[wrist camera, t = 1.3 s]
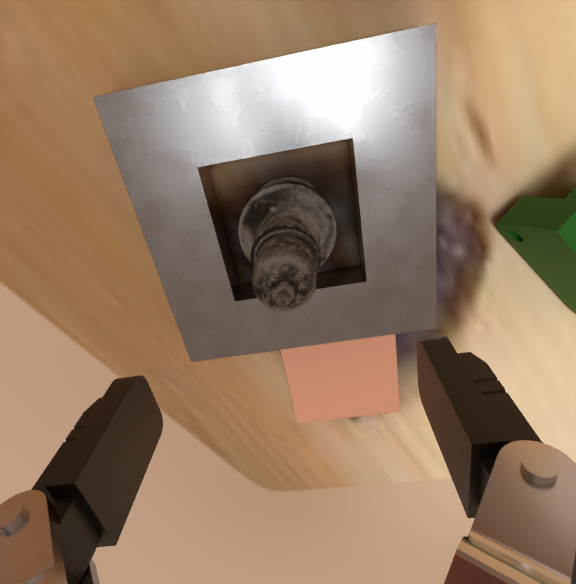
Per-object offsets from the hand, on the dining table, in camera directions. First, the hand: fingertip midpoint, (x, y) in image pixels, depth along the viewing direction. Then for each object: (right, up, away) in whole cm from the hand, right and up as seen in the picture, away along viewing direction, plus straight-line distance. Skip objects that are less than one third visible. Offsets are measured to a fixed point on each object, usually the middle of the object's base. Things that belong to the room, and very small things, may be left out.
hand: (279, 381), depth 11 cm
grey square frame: (0, +8, +15) cm, 17 cm away
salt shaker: (0, +8, +15) cm, 17 cm away
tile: (+5, -4, +21) cm, 22 cm away
